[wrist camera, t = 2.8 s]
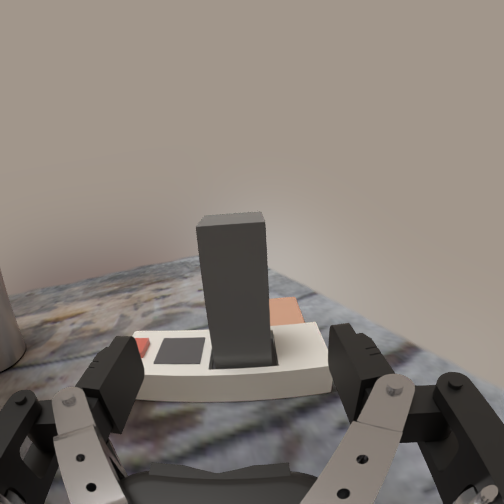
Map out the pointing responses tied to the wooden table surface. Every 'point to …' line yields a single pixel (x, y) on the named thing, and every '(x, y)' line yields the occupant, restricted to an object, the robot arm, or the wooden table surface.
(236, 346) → the block
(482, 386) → the wooden table surface
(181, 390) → the power strip
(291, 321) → the tile coaster
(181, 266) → the wooden table surface
